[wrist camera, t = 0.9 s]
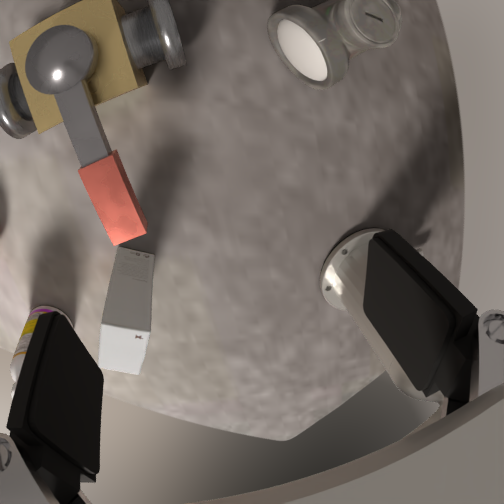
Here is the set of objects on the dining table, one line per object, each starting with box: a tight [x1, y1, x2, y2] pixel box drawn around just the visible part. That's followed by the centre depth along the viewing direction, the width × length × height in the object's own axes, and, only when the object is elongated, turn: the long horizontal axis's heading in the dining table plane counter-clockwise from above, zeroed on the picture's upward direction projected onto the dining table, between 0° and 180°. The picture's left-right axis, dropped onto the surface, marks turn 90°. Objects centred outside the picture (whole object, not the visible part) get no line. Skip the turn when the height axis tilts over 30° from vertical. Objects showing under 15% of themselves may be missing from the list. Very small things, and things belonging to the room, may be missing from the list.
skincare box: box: [98, 247, 155, 375], centre depth 30 cm, size 6×4×12 cm
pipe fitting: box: [267, 0, 402, 90], centre depth 22 cm, size 12×8×10 cm
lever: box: [25, 25, 148, 246], centre depth 18 cm, size 16×5×2 cm, turn 14°
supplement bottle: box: [10, 306, 73, 399], centre depth 30 cm, size 7×7×13 cm
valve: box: [0, 0, 186, 139], centre depth 20 cm, size 15×8×8 cm, turn 104°
